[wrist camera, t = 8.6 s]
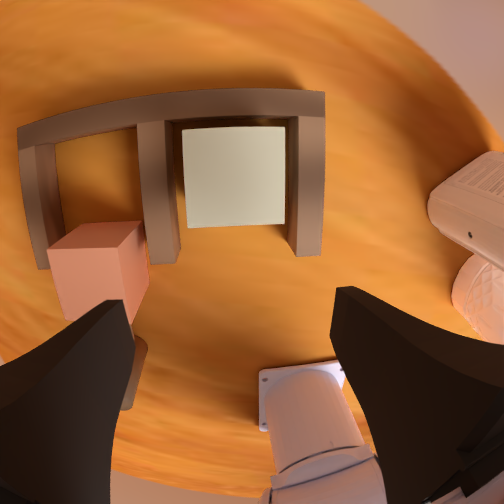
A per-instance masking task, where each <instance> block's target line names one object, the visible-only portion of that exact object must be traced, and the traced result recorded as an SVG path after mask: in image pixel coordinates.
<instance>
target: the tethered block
mask: <svg viewBox="0 0 504 504" xmlns="http://www.w3.org/2000/svg"><path fill="white" fill-rule="evenodd" d="M47 254H48V259H49V263H50V267H51V272H52V276H53V279H54V283H55V287H56V291H57V294H58V298H59V301H60V304H61V308H62V311H63V314H64V317H65V320H69V321H76V320H77V319H79V318H80V317H81V316H83V315H84V314H85V313H87V312H88V311H90V310H91V309H92V308H94V307H95V306H97V305H98V304H100V303H102V302H103V301H105V300H114V299H123V303H124V307H125V310H126V314H127V318H128V322H129V325H130V329H131V332H132V336H133V339H134V342H135V346H136V349H135V355H134V362H133V367H132V372H131V375H130V379H129V382H128V385H127V389H126V392H125V395H124V399H123V402H122V405H121V409H120V410H129V409H131V408H132V406H133V402H134V398H135V394H136V390H137V386H138V382H139V378H140V375H141V371H142V367H143V364H144V360H145V357H146V353H147V349H148V347H147V344H146V343H145V341H144V340H143V339H141V338H140V337H138V336H134V334H133V330H132V326H131V324H132V323H133V320H134V318H135V316H136V313H137V311H138V309H139V306H140V304H141V302H142V299H143V297H144V295H145V293H146V290H147V288H148V286H149V284H150V281H149V274H148V266H147V259H146V250H145V241H144V231H143V221H142V220H140V221H118V222H99V223H83V224H81V225H80V226H78V227H77V228H76V229H74V230H73V231H71V232H70V233H68V234H67V235H66V236H64V237H63V238H61V239H60V240H59V241H57V242H56V243H55V244H53V245H52V246H51V247H49V248H48V249H47Z"/></svg>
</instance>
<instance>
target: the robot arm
mask: <svg viewBox="0 0 504 504" xmlns="http://www.w3.org/2000/svg"><path fill="white" fill-rule="evenodd" d="M330 339H331V342H332V345H333V348H334V351H335V354H336V357H337V359H338V360H333V361H327V362H320V363H313V364H306V365H298V366H290V367H281V368H272V369H263V370H261V371H260V372H259V430H260V431H269V435H270V441H271V446H272V452H273V457H274V463H275V468H276V474H277V475H274V476H271V477H270V478H271V484H272V487H271V488H267V489H265V490H264V492H263V493H262V496H261V497H260V499H259V501H258V504H504V345H501V344H495V343H490V342H485V341H480V340H476V339H473V338H469V337H465V336H462V335H458V334H455V333H452V332H449V331H447V330H444V329H441V328H439V327H436V326H434V325H431V324H429V323H426V322H424V321H422V320H420V319H418V318H416V317H413V316H411V315H409V314H407V313H405V312H403V311H401V310H399V309H397V308H396V307H394V306H392V305H390V304H388V303H386V302H384V301H382V300H380V299H379V298H377V297H375V296H373V295H371V294H369V293H367V292H365V291H363V290H361V289H359V288H357V287H354V286H347V287H337V288H336V295H335V302H334V309H333V316H332V323H331V329H330ZM135 349H136V346H135V342H134V339H133V336H132V332H131V329H130V325H129V322H128V318H127V314H126V310H125V307H124V303H123V299H114V300H105V301H103V302H102V303H100V304H98V305H97V306H95V307H94V308H92V309H91V310H90V311H88V312H87V313H85V314H84V315H83V316H81V317H80V318H79V319H77V320H76V321H74V322H73V323H72V324H70V325H69V326H68V327H66V328H65V329H63V330H62V331H60V332H59V333H57V334H56V335H55V336H53V337H52V338H50V339H49V340H47V341H46V342H44V343H43V344H41V345H40V346H38V347H36V348H35V349H33V350H31V351H30V352H28V353H26V354H24V355H22V356H21V357H19V358H17V359H15V360H13V361H11V362H8V363H6V364H4V365H2V366H0V504H110V471H111V456H112V447H113V439H114V432H115V427H116V423H117V419H118V416H119V412H120V409H121V405H122V402H123V399H124V395H125V392H126V389H127V385H128V382H129V379H130V375H131V372H132V367H133V362H134V355H135ZM345 376H346V377H347V379H348V381H349V383H350V385H351V387H352V389H353V391H354V393H355V395H356V397H357V399H358V401H359V403H360V405H361V408H362V410H363V412H364V415H365V417H366V420H367V423H368V426H369V429H370V432H371V435H372V438H373V442H374V445H375V448H376V452H375V453H374V455H373V453H372V451H371V448H370V446H369V444H365V442H364V440H363V438H362V435H361V433H360V431H359V428H358V426H357V424H356V421H355V419H354V417H353V415H352V412H351V410H350V408H349V406H348V403H347V401H346V399H345V396H344V394H343V392H342V386H343V383H344V379H345ZM263 378H265V379H263Z"/></svg>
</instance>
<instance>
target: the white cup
mask: <svg viewBox="0 0 504 504" xmlns="http://www.w3.org/2000/svg"><path fill="white" fill-rule="evenodd" d="M451 298H452V303H453V307H454V308H455V309H456V310H457V311H458V312H459V313H460V314H461V315H462V316H463V317H464V318H465V319H466V320H467V321H468V323H469V324H470V326H471V327H472V328H473V329H474V330H475V331H476V333H477V334H478V335H479V336H480V337H481V338H482V339H483V341H485V342H490V343H495V344H501V345H504V272H502V271H501V270H499V269H498V268H496V267H495V266H493V265H492V264H490V263H489V262H487V261H485V260H484V259H482V258H481V257H479V256H477V255H476V254H474V255H472V256H471V257H469V258H468V260H467V261H466V262H465V263H464V265H463V266H462V267H461V269H460V270H459V273H458V275H457V277H456V279H455V281H454V284H453V289H452V295H451Z"/></svg>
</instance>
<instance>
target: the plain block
mask: <svg viewBox="0 0 504 504" xmlns="http://www.w3.org/2000/svg"><path fill="white" fill-rule="evenodd" d="M182 144H183V167H184V184H185V199H186V213H187V225H188V228H200V227H220V226H241V225H264V224H284V223H285V127H221V128H202V129H188V130H182Z"/></svg>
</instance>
